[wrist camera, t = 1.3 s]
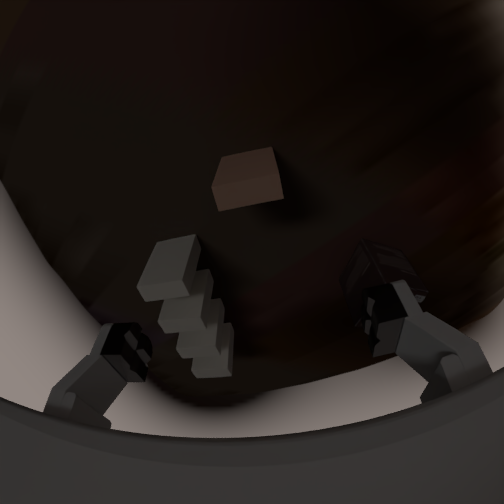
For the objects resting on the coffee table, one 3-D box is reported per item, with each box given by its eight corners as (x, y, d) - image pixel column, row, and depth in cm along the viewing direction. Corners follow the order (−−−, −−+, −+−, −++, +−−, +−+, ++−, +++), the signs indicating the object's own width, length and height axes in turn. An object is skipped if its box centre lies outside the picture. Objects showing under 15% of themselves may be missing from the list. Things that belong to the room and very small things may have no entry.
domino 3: (186, 302, 34) (176, 348, 28) (220, 297, 33) (215, 345, 27) (191, 312, 35) (182, 358, 29) (224, 308, 34) (220, 355, 28)
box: (336, 278, 32) (352, 327, 26) (361, 236, 28) (385, 282, 22) (377, 288, 33) (397, 333, 27) (402, 249, 29) (430, 293, 23)
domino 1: (157, 242, 29) (136, 286, 23) (195, 234, 28) (182, 279, 22) (163, 255, 30) (145, 301, 24) (201, 248, 29) (189, 295, 23)
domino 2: (172, 274, 31) (157, 321, 25) (208, 268, 31) (200, 316, 25) (178, 286, 32) (165, 333, 26) (213, 281, 32) (206, 329, 26)
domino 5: (221, 157, 24) (211, 187, 18) (271, 146, 23) (279, 173, 17) (226, 175, 25) (218, 211, 19) (275, 165, 24) (283, 198, 18)
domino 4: (198, 326, 36) (191, 370, 31) (230, 322, 36) (227, 368, 30) (203, 334, 37) (196, 378, 32) (234, 331, 37) (231, 375, 31)
